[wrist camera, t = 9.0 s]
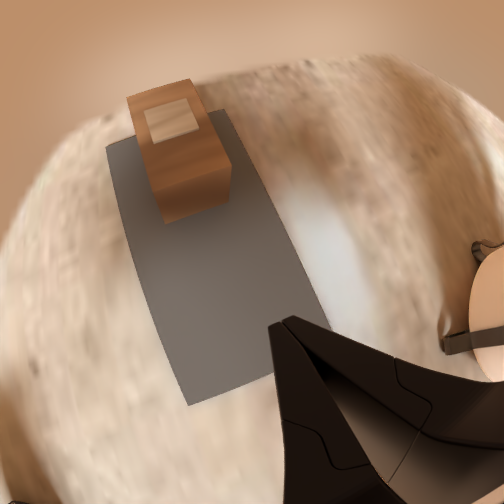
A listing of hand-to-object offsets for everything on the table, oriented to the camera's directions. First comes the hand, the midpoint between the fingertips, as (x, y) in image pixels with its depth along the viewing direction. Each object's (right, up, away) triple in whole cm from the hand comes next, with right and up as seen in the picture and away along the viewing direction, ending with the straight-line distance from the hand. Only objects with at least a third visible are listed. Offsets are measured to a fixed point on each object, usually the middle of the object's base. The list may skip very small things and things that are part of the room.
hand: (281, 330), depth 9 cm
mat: (-4, +3, +12) cm, 13 cm away
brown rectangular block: (-4, +5, +9) cm, 12 cm away
